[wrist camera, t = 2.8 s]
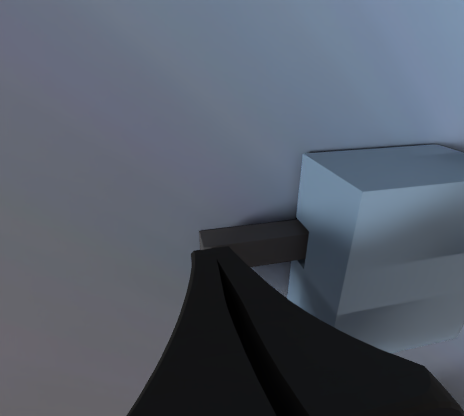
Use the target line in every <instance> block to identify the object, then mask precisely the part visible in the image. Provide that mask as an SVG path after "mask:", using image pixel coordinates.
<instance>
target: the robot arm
mask: <svg viewBox="0 0 464 416" xmlns="http://www.w3.org/2000/svg"><path fill="white" fill-rule="evenodd" d="M191 261H192V268H191V275H190V280H189V285H188V289H187V293H186V296H185V300H184V303H183V306H182V309H181V312H180V315H179V318H178V321H177V323H176V326H175V328H174V330H173V333H172V335H171V338H170V340H169V342H168V344H167V346H166V348H165V350H164V352H163V354H162V357H161V358H160V360H159V362H158V364H157V366H156V368H155V370H154V372H153V373H152V375H151V377H150V378H149V380H148V382H147V384H146V385H145V387H144V389H143V390H142V392H141V394H140V396H139V397H138V399H137V401H136V402H135V404H134V405H133V407H132V408H131V410H130V411H129V413H128V414H127V416H464V411H463V410H462V408H461V407H460V405H459V404H458V403H457V402H456V401H455V400H454V398H453V397H452V396H451V395H450V394H449V393H448V392H447V390H446V389H445V388H444V387H443V386H442V385H441V383H440V382H439V381H438V380H437V379H436V378H435V377H434V376H433V375H432V374H431V373H430V372H429V371H428V370H427V369H426V368H425V366H422V365H420V364H417V363H415V362H412V361H409V360H407V359H404V358H402V357H399V356H396V355H394V354H391V353H389V352H386V351H383V350H381V349H378V348H376V347H374V346H372V345H370V344H367V343H365V342H363V341H361V340H358V339H356V338H354V337H352V336H350V335H348V334H346V333H344V332H342V331H340V330H338V329H336V328H334V327H333V326H331V325H329V324H327V323H325V322H323V321H322V320H320V319H318V318H316V317H315V316H313V315H311V314H310V313H308V312H306V311H305V310H303V309H302V308H300V307H299V306H297V305H296V304H294V303H293V302H291V301H290V300H288V299H287V298H286V297H284V296H283V295H282V294H281V293H279V292H278V291H277V290H275V289H274V288H273V287H272V286H270V285H269V284H268V283H267V282H266V281H265V280H263V279H262V278H261V277H260V276H259V275H258V274H257V273H256V272H254V271H253V270H252V269H251V268H250V267H249V266H248V265H247V264H246V263H245V262H244V261H243V260H242V259H241V258H240V257H239V256H238V255H237V254H236V253H235V252H234V251H233V250H232V249H231V248H230V247H229V246H226V247H219V248H211V249H204V250H196V251H193V252H192V254H191Z"/></svg>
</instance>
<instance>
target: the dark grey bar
mask: <svg viewBox="0 0 464 416" xmlns="http://www.w3.org/2000/svg"><path fill="white" fill-rule="evenodd" d="M199 236H200V250H204V249H211V248H219V247H226V246H229V247H230V248H231V249H232V250H233V251H234V252H235V253H236V254H237V255H238V256H239V257H240V258H241V259H242V260H243V261H244V262H245V263H246V264H247V265H248V266H249V267H254V266H260V265H267V264H274V263H281V262H288V261H294V260H301V259H306V252H307V244H308V237H309V231H308V230H307V229H306V228H305V226H304V225H303V224H302V223H301V222H300V221H299V220H298V219H297V220H289V221H280V222H272V223H263V224H255V225H246V226H238V227H229V228H221V229H212V230H204V231H199Z"/></svg>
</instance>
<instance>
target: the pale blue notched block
mask: <svg viewBox="0 0 464 416" xmlns="http://www.w3.org/2000/svg"><path fill="white" fill-rule="evenodd" d="M296 218H297V219H298V220H299V221H300V222H301V223H302V224H303V225H304V226H305V228H306V229H307V230H308V231H309V237H308V244H307V252H306V259H301V260H294V261H291V268H290V278H289V287H288V296H287V299H288V300H290V301H291V302H293V303H294V304H296V305H297V306H299V307H300V308H302V309H303V310H305V311H306V312H308V313H310V314H311V315H313V316H315V317H316V318H318V319H320V320H322V321H323V322H325V323H327V324H329V325H331V326H333V327H334V328H336V329H338V330H340V331H342V332H344V333H346V334H348V335H350V336H352V337H354V338H356V339H358V340H361V341H363V342H365V343H367V344H370V345H372V346H374V347H376V348H378V349H381V350H383V351H386V352H389V353H395V352H400V351H404V350H408V349H413V348H417V347H421V346H426V345H430V344H434V343H439V342H443V341H447V340H452V339H456V338H457V337H458V335H459V333H460V331H461V329H462V327H463V324H464V153H463V152H460V151H457V150H454V149H450V148H447V147H444V146H441V145H437V144H433V145H419V146H404V147H390V148H375V149H361V150H346V151H332V152H318V153H303V158H302V167H301V176H300V186H299V195H298V204H297V213H296Z"/></svg>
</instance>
